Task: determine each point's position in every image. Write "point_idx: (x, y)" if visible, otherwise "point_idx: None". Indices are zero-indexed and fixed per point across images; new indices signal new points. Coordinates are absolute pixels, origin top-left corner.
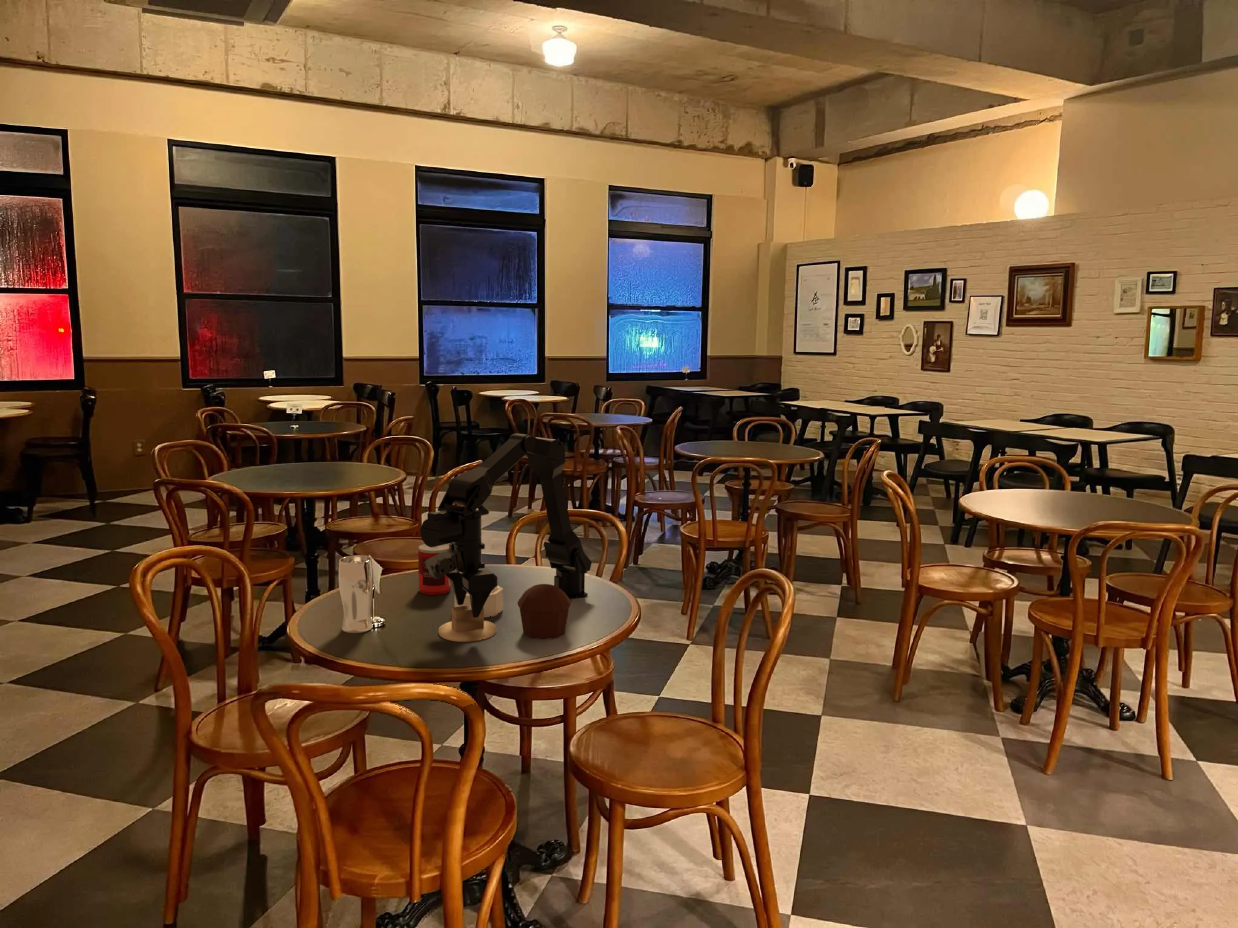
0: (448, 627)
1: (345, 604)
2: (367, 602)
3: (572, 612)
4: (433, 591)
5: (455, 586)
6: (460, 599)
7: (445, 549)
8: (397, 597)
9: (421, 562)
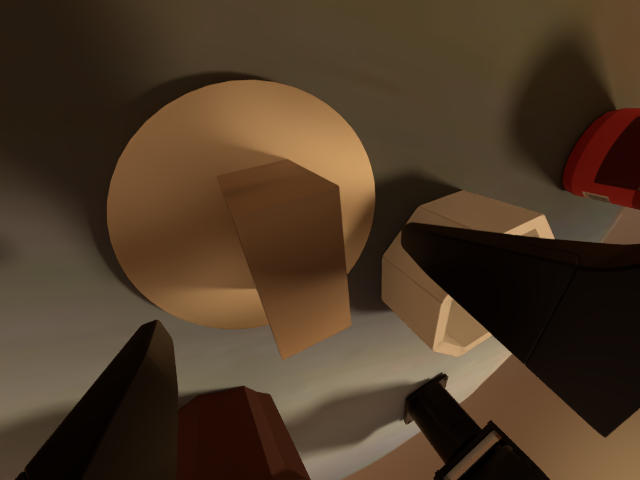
0: (303, 145)
1: None
2: None
3: (338, 429)
4: (588, 145)
5: (522, 263)
6: (423, 247)
7: None
8: (637, 23)
9: None
